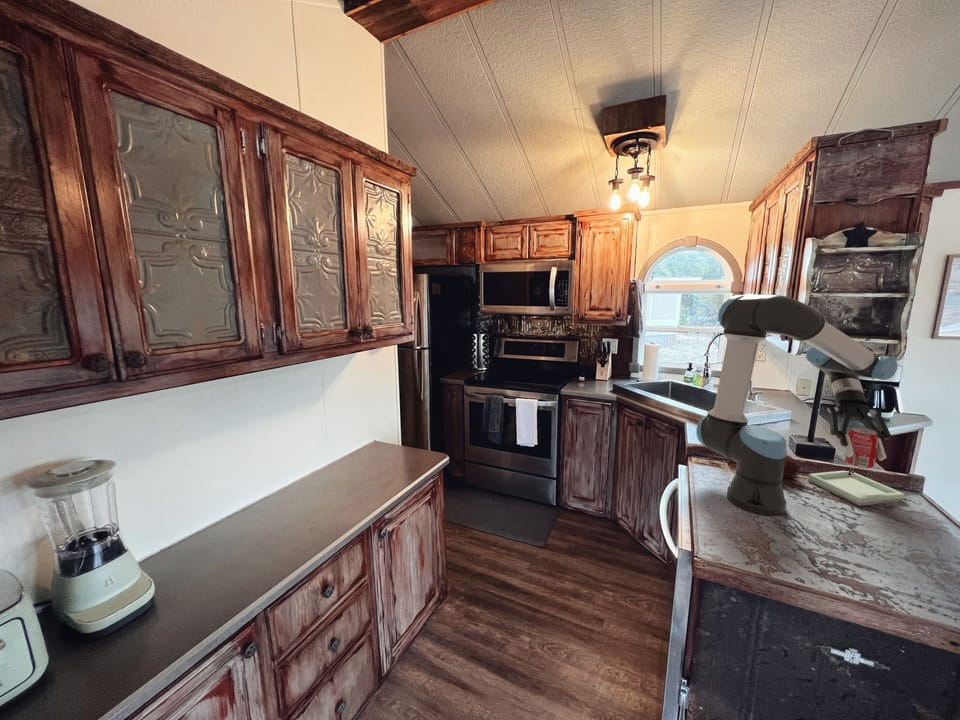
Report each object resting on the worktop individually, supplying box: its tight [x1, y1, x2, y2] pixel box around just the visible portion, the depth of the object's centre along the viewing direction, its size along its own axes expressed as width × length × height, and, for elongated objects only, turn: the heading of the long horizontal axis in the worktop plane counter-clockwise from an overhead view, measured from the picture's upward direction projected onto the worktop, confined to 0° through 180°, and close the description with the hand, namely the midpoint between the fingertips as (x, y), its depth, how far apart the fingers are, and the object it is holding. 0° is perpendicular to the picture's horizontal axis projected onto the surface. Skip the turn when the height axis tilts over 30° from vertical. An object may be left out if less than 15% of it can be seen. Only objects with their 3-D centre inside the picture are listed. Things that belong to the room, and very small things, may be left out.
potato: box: [783, 454, 801, 478], centre depth 135 cm, size 12×11×8 cm
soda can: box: [844, 426, 879, 470], centre depth 123 cm, size 7×7×12 cm
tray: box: [807, 470, 905, 507], centre depth 125 cm, size 16×16×2 cm
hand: (866, 457), depth 120 cm, fingers closed on soda can, 7 cm apart
